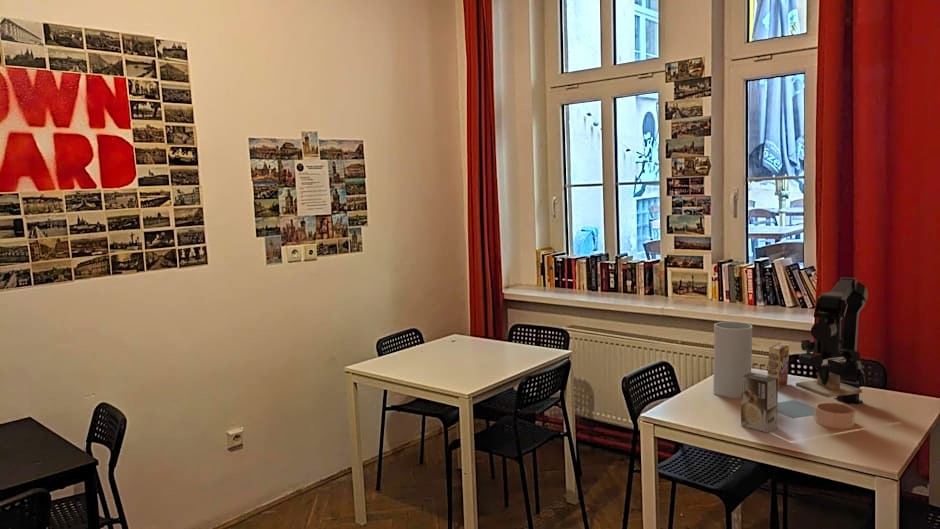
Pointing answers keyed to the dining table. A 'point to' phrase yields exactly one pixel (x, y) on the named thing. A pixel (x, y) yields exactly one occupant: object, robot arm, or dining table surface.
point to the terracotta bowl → (834, 415)
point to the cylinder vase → (731, 357)
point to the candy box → (779, 363)
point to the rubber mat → (794, 409)
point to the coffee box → (759, 401)
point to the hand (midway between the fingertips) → (828, 384)
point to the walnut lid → (829, 387)
